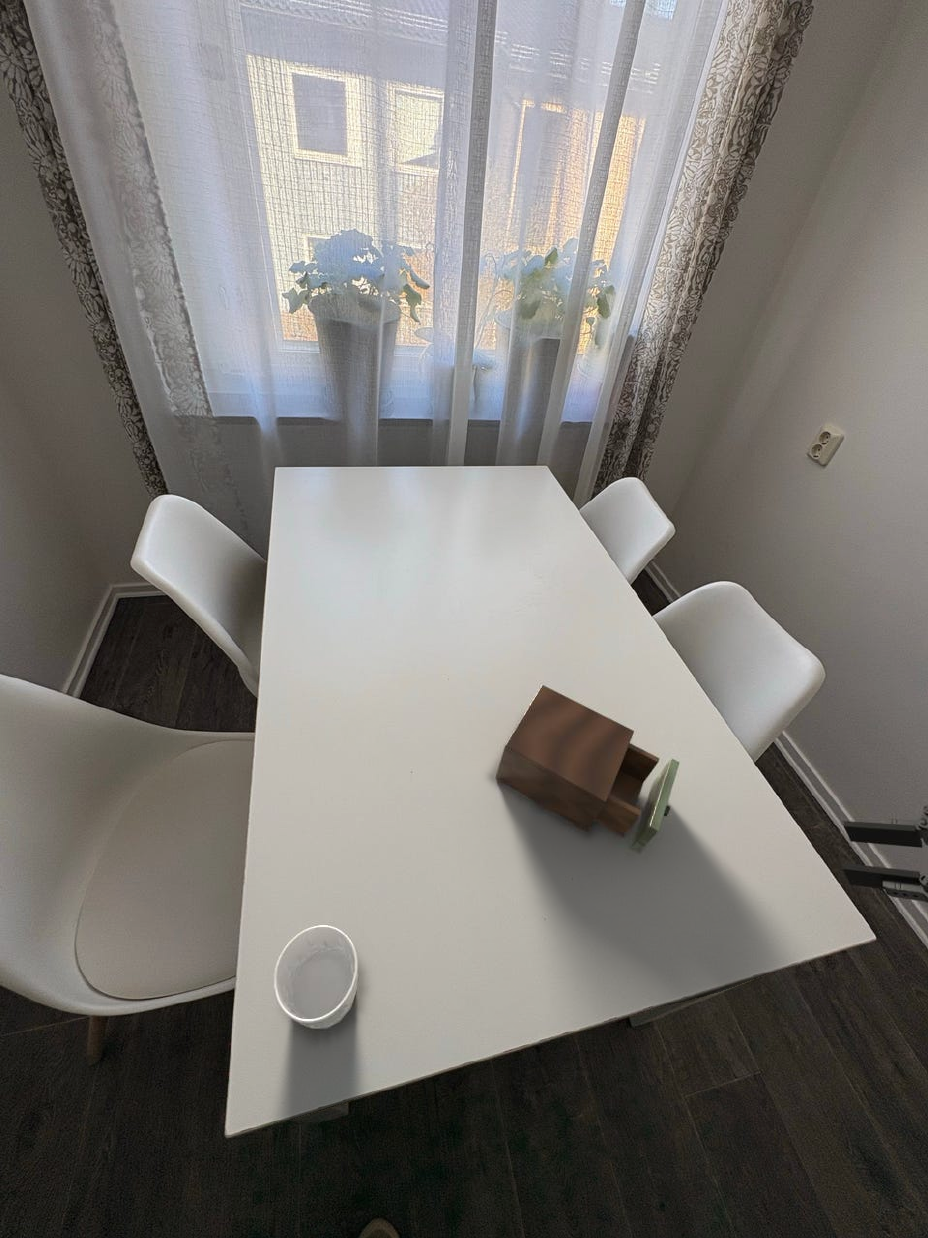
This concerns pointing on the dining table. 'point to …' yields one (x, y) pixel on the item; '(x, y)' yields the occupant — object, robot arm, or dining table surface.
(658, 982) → the dining table surface
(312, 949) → the white cup
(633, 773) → the top drawer
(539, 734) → the cabinet
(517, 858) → the dining table surface
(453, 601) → the dining table surface
